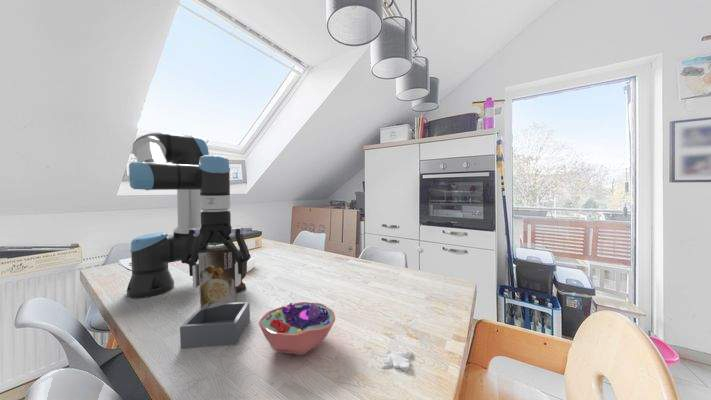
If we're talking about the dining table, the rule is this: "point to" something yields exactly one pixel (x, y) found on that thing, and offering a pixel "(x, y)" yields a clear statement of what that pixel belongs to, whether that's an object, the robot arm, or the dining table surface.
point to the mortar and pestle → (242, 285)
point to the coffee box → (216, 276)
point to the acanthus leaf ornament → (397, 360)
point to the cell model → (297, 327)
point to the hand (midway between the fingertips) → (217, 285)
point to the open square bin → (215, 326)
